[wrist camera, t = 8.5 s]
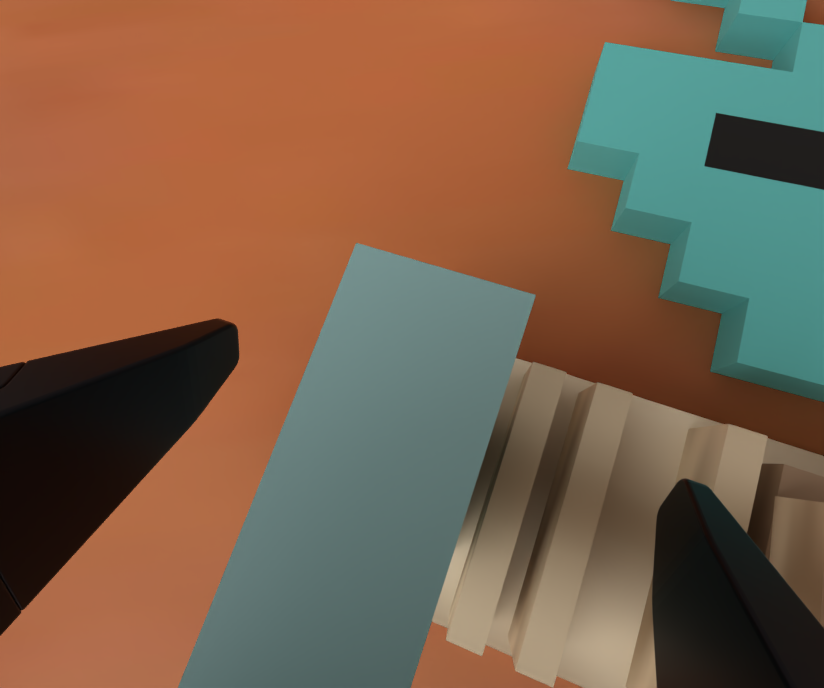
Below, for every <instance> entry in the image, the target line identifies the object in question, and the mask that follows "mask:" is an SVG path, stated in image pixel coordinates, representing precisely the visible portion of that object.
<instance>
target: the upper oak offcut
mask: <svg viewBox="0 0 824 688" xmlns="http://www.w3.org/2000/svg"><path fill="white" fill-rule="evenodd" d="M769 561H770V562H771V564H772V565H773V566H774V567H775V568H776V570H777V571H778V572H779V573H780V575H781V576H782V577H783V578H784V579H785V581H786V582H787V583H788V584H789V586H790V587H791V588H792V589H793V591H794V592H795V593H796V594H797V595H798V597H799V598H800V599H801V600H802V602H803V603H804V604H805V605H806V606H807V608H808V609H809V610H810V611H811V613H812V614H813V615H814V616H815V618H816V619H817V620H818V621H819V622H820V624H821V625H822V626H823V627H824V502H816V501H808V500H801V499H793V498H786V497H778V496H775V501H774V513H773V524H772V535H771V547H770V558H769Z"/></svg>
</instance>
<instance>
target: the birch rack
mask: <svg viewBox="0 0 824 688" xmlns="http://www.w3.org/2000/svg"><path fill="white" fill-rule="evenodd" d="M566 373H567V372H564V371H561V370H558V369H555V368H552V367H549V366H546V365H542V364H539V363H536V362H533V363H530V362H527V361H524V360H521V359H518V358H516V359H515V362H514V365H513V368H512V371H511V374H510V378H509V381H508V384H507V387H506V390H505V393H504V396H503V399H502V403H501V406H500V409H499V412H498V415H497V418H496V421H495V424H494V428H493V431H492V434H491V437H490V440H489V443H488V446H487V450H486V453H485V456H484V459H483V462H482V465H481V468H480V471H479V475H478V478H477V481H476V484H475V487H474V490H473V493H472V497H471V500H470V503H469V506H468V509H467V512H466V515H465V518H464V522H463V525H462V528H461V531H460V534H459V537H458V540H457V543H456V547H455V550H454V553H453V556H452V559H451V562H450V565H449V569H448V572H447V575H446V578H445V581H444V584H443V587H442V590H441V594H440V597H439V600H438V603H437V606H436V609H435V612H434V616H433V619H432V622H434V623H437V624H439V625H441V626H443V627H446V628H447V636H446V641H449V642H451V643H453V644H455V645H458V646H460V647H462V648H465V649H467V650H469V651H471V652H474V653H476V654H478V655H480V656H482V654H483V651H484V648H485V645H487V646H489V647H491V648H494V649H496V650H498V651H501V652H503V653H505V654H507V655H510V656H512V658H513V663H514V667H515V671H517V672H519V673H521V674H523V675H526V676H528V677H530V678H532V679H535V680H537V681H539V682H541V683H544V684H546V685H548V686H550V687H554V683H555V679H556V676H558V677H560V678H562V679H565V680H567V681H569V682H572V683H574V684H576V685H578V686H581V687H583V688H657V684H656V667H655V650H654V634H653V617H652V581H653V565H654V549H655V534H656V519H657V513H658V510H659V508H660V506H661V504H662V503H663V501H664V500H665V499H666V497H667V496H668V494H669V493H670V492H671V490H672V489H673V487H674V486H675V485H676V483H677V482H678V481H679V480H681V479H683V478H687V479H690V480H693V481H696V482H699V483H702V484H704V485H707V486H708V487H709V488H710V489H711V490H712V491H713V492H714V494H715V495H716V496H717V497H718V498H719V500H720V501H721V502H722V503H723V505H724V506H725V507H726V508H727V510H728V511H729V512H730V513H731V514H732V516H733V517H734V518H735V519H736V521H737V522H738V523H739V524H740V525H741V527H742V528H743V529H744V530H745V532H746V533H747V531H748V526H749V522H750V517H751V512H752V508H753V503H754V498H755V494H756V489H757V484H758V480H759V475H760V470H761V466H762V463H766V464H786V465H789V466H792V467H795V468H798V469H801V470H804V471H807V472H810V473H813V474H816V475H819V476H822V477H824V456H822V455H819V454H816V453H813V452H809V451H806V450H803V449H800V448H797V447H794V446H791V445H787V444H784V443H781V442H778V441H775V440H772V439H769V438H768V436H766V435H763V434H760V433H756V432H753V431H750V430H747V429H744V428H741V427H738V426H734V425H731V424H722V423H718V422H715V421H712V420H709V419H706V418H703V417H700V416H696V415H693V414H690V413H687V412H684V411H681V410H678V409H674V408H671V407H668V406H665V405H662V404H659V403H656V402H652V401H649V400H646V399H643V398H640V397H637V396H634V395H633V393H631V392H627V391H624V390H621V389H618V388H615V387H612V386H609V385H605V384H602V383H599V382H597V383H593V382H590V381H587V380H583V379H580V378H577V377H574V376H571V375H568V374H566Z"/></svg>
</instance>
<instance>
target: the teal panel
mask: <svg viewBox="0 0 824 688" xmlns="http://www.w3.org/2000/svg"><path fill="white" fill-rule="evenodd" d="M535 296H536V295H534V294H531V293H527V292H524V291H520V290H517V289H513V288H510V287H507V286H503V285H500V284H496V283H493V282H489V281H486V280H482V279H479V278H476V277H472V276H469V275H465V274H462V273H458V272H455V271H451V270H448V269H445V268H441V267H438V266H434V265H431V264H427V263H424V262H420V261H417V260H414V259H410V258H407V257H403V256H400V255H396V254H393V253H389V252H386V251H383V250H379V249H376V248H372V247H369V246H365V245H362V244H358V243H356V245H355V248H354V250H353V252H352V255H351V257H350V260H349V262H348V265H347V267H346V270H345V272H344V275H343V277H342V280H341V282H340V285H339V287H338V290H337V292H336V295H335V297H334V300H333V302H332V305H331V307H330V310H329V312H328V315H327V317H326V320H325V322H324V325H323V327H322V330H321V332H320V335H319V337H318V340H317V342H316V345H315V347H314V350H313V352H312V355H311V357H310V360H309V362H308V365H307V367H306V370H305V372H304V375H303V377H302V380H301V382H300V385H299V387H298V390H297V392H296V395H295V397H294V400H293V402H292V405H291V407H290V410H289V412H288V415H287V417H286V420H285V422H284V425H283V427H282V430H281V432H280V435H279V437H278V440H277V442H276V445H275V447H274V450H273V452H272V455H271V457H270V459H269V462H268V464H267V467H266V469H265V472H264V474H263V477H262V479H261V482H260V484H259V487H258V489H257V492H256V494H255V497H254V499H253V502H252V504H251V507H250V509H249V512H248V514H247V517H246V519H245V522H244V524H243V527H242V529H241V532H240V534H239V537H238V539H237V542H236V544H235V547H234V549H233V552H232V554H231V557H230V559H229V562H228V564H227V567H226V569H225V572H224V574H223V577H222V579H221V582H220V584H219V587H218V589H217V592H216V594H215V597H214V599H213V602H212V604H211V607H210V609H209V612H208V614H207V617H206V619H205V622H204V624H203V627H202V629H201V632H200V634H199V637H198V639H197V642H196V644H195V647H194V649H193V652H192V654H191V657H190V659H189V662H188V664H187V666H186V669H185V671H184V674H183V676H182V679H181V681H180V684H179V686H178V688H411V684H412V681H413V678H414V675H415V672H416V669H417V666H418V662H419V659H420V656H421V653H422V650H423V647H424V644H425V641H426V637H427V634H428V631H429V628H430V625H431V622H432V619H433V616H434V612H435V609H436V606H437V603H438V600H439V597H440V594H441V590H442V587H443V584H444V581H445V578H446V575H447V572H448V569H449V565H450V562H451V559H452V556H453V553H454V550H455V547H456V543H457V540H458V537H459V534H460V531H461V528H462V525H463V522H464V518H465V515H466V512H467V509H468V506H469V503H470V500H471V497H472V493H473V490H474V487H475V484H476V481H477V478H478V475H479V471H480V468H481V465H482V462H483V459H484V456H485V453H486V450H487V446H488V443H489V440H490V437H491V434H492V431H493V428H494V424H495V421H496V418H497V415H498V412H499V409H500V406H501V403H502V399H503V396H504V393H505V390H506V387H507V384H508V381H509V378H510V374H511V371H512V368H513V365H514V362H515V359H516V356H517V352H518V349H519V346H520V343H521V340H522V337H523V334H524V331H525V327H526V324H527V321H528V318H529V315H530V312H531V309H532V306H533V302H534V299H535Z"/></svg>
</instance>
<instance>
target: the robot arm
mask: <svg viewBox="0 0 824 688" xmlns="http://www.w3.org/2000/svg"><path fill="white" fill-rule="evenodd" d="M238 360H239V341H238V329H237V327H236V325H235V324H233V323H231V322H228V321H225V320H222V319H212V320H208V321H203V322H199V323H194V324H190V325H185V326H181V327H177V328H172V329H168V330H163V331H159V332H154V333H150V334H145V335H141V336H137V337H132V338H128V339H123V340H119V341H114V342H110V343H105V344H101V345H96V346H92V347H88V348H83V349H79V350H74V351H70V352H65V353H61V354H56V355H52V356H48V357H43V358H39V359H34V360H30V361H27V362H26V363H24V362H20V363H16V364H12V365H7V366H3V367H0V636H1V635H2V633H3V632H4V631H5V630H6V629H7V628H8V627H9V626H10V625H11V624H12V622H13V621H14V620H15V619H16V618H17V617H18V616H19V615H20V614H21V610H24V609H25V608H26V607H27V606H28V604H29V603H30V602H31V601H32V600H33V599H34V598H35V597H36V596H37V595H38V593H39V592H40V591H41V590H42V589H43V588H44V587H45V586H46V585H47V584H48V582H49V581H50V580H51V579H52V578H53V577H54V576H55V575H56V574H57V573H58V572H59V570H60V569H61V568H62V567H63V566H64V565H65V564H66V563H67V562H68V561H69V559H70V558H71V557H72V556H73V555H74V554H75V553H76V552H77V551H78V550H79V548H80V547H81V546H82V545H83V544H84V543H85V542H86V541H87V540H88V539H89V538H90V536H91V535H92V534H93V533H94V532H95V531H96V530H97V529H98V528H99V527H100V525H101V524H102V523H103V522H104V521H105V520H106V519H107V518H108V517H109V516H110V514H111V513H112V512H113V511H114V510H115V509H116V508H117V507H118V506H119V505H120V503H121V502H122V501H123V500H124V499H125V498H126V497H127V496H128V495H129V494H130V493H131V491H132V490H133V489H134V488H135V487H136V486H137V485H138V484H139V483H140V482H141V480H142V479H143V478H144V477H145V476H146V475H147V474H148V473H149V472H150V471H151V469H152V468H153V467H154V466H155V465H156V464H157V463H158V462H159V461H160V460H161V458H162V457H163V456H164V455H165V454H166V453H167V452H168V451H169V450H170V449H171V448H172V446H173V445H174V444H175V443H176V442H177V441H178V440H179V439H180V438H181V437H182V435H183V434H184V433H185V432H186V431H187V430H188V429H189V428H190V427H191V425H192V424H193V423H194V422H195V421H196V420H197V418H198V417H199V416H200V414H201V413H202V412H203V411H204V409H205V408H206V407H207V405H208V404H209V402H210V401H211V400H212V398H213V397H214V396H215V394H216V393H217V392H218V390H219V389H220V387H221V386H222V385H223V383H224V382H225V381H226V379H227V378H228V377H229V375H230V374H231V372H232V371H233V370H234V368H235V367H236V365H237V363H238ZM652 617H653V634H654V650H655V667H656V684H657V688H824V627H823V626H822V625H821V624H820V622H819V621H818V620H817V619H816V618H815V616H814V615H813V614H812V613H811V611H810V610H809V609H808V608H807V606H806V605H805V604H804V603H803V602H802V600H801V599H800V598H799V597H798V595H797V594H796V593H795V592H794V591H793V589H792V588H791V587H790V586H789V584H788V583H787V582H786V581H785V579H784V578H783V577H782V576H781V575H780V573H779V572H778V571H777V570H776V568H775V567H774V566H773V565H772V564H771V562H770V561H769V560H768V559H767V557H766V556H765V555H764V554H763V552H762V551H761V550H760V549H759V548H758V546H757V545H756V544H755V543H754V541H753V540H752V539H751V538H750V537H749V535H748V534H747V533H746V532H745V530H744V529H743V528H742V527H741V525H740V524H739V523H738V522H737V521H736V519H735V518H734V517H733V516H732V514H731V513H730V512H729V511H728V510H727V508H726V507H725V506H724V505H723V503H722V502H721V501H720V500H719V498H718V497H717V496H716V495H715V494H714V492H713V491H712V490H711V489H710V488H709V487H708V486H707V485H704V484H702V483H699V482H696V481H693V480H690V479H687V478H683V479H681V480H679V481H678V482H677V483H676V485H675V486H674V487H673V489H672V490H671V492H670V493H669V494H668V496H667V497H666V499H665V500H664V501H663V503H662V504H661V506H660V508H659V510H658V513H657V519H656V534H655V549H654V565H653V581H652Z"/></svg>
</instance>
